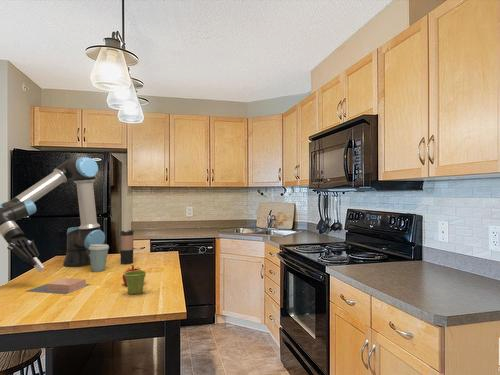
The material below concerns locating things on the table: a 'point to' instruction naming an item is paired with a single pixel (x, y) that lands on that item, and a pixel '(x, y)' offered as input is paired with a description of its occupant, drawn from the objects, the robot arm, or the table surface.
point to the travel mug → (126, 247)
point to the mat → (43, 290)
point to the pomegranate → (129, 271)
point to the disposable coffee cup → (98, 256)
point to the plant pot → (135, 281)
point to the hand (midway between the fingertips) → (41, 269)
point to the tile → (65, 285)
